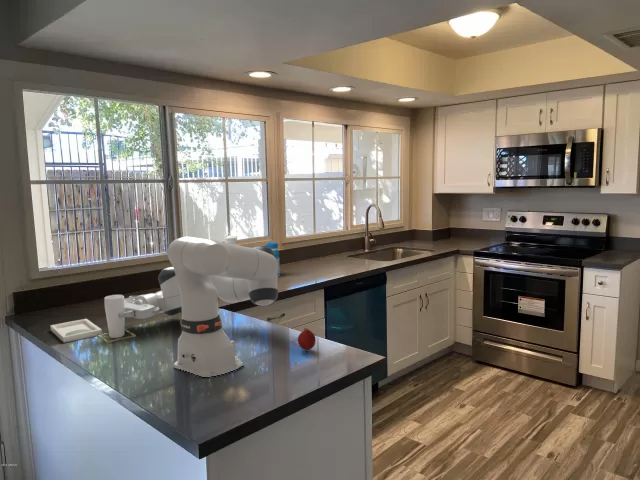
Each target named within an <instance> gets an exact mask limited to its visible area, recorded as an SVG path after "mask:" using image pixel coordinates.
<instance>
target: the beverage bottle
mask: <svg viewBox="0 0 640 480" xmlns="http://www.w3.org/2000/svg"><path fill="white" fill-rule="evenodd" d="M278 245H279V243H278V242H266V245H265V246H266V247H269V248H270V249H272V250H273V253H274V255H275V258H276V260H277V263H278V269H277V278H278V277H280V276H281V274H280V273H281V272H280V271H281V270H280V259H281V258H280V252H279V251H278V248H279V246H278Z"/></svg>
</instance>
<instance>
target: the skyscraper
mask: <svg viewBox="0 0 640 480" xmlns="http://www.w3.org/2000/svg"><path fill="white" fill-rule="evenodd" d="M230 234H231V233H230V232H227V233H225V234H224V237H223V240H224V242H225V243H229V244H234V245H237V241H238V236H237V235H234V236H233V235H230ZM227 235H228V236H227ZM226 236H227V237H226Z"/></svg>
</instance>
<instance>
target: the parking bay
mask: <svg viewBox="0 0 640 480" xmlns="http://www.w3.org/2000/svg"><path fill="white" fill-rule="evenodd" d="M125 333H127V334H129V336H125V337H124V336H123V337H119V338H114V339H111V340H108V339H106V338H105V337H104V336H109V332H107V333H102V335H98V337H99V339H101V340H102V341H104V342H105V343H107V344H108V343H113V342H118V341H121V340H125V339H130V338H135V337H137V335H136V334H134V333H133V332H132V331H130V330H128V329H126V328H125Z"/></svg>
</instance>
